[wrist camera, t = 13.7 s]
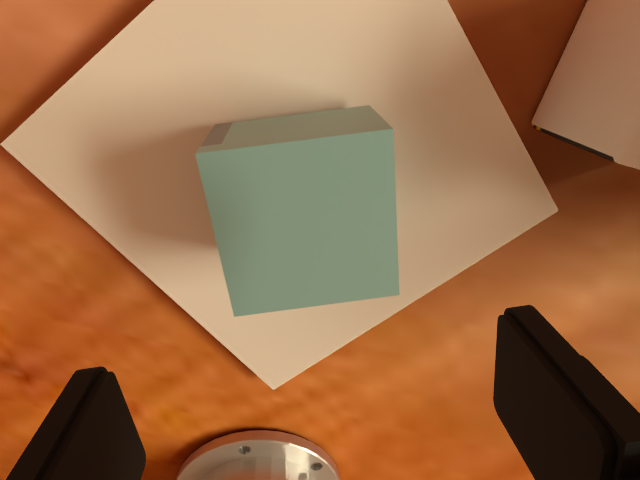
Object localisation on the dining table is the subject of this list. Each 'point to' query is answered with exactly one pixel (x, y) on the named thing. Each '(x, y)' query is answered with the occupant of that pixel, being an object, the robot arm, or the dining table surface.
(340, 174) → the sage green cube
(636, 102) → the medicine bottle
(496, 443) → the dining table surface
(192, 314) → the post block
